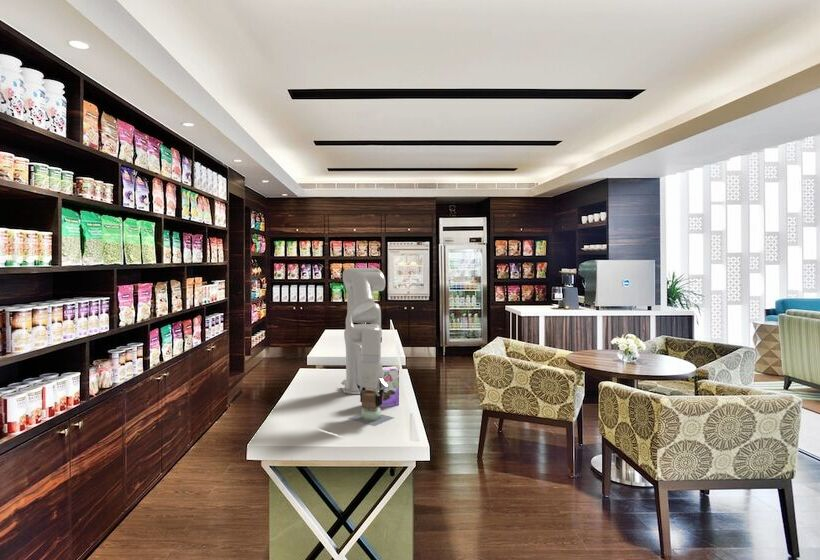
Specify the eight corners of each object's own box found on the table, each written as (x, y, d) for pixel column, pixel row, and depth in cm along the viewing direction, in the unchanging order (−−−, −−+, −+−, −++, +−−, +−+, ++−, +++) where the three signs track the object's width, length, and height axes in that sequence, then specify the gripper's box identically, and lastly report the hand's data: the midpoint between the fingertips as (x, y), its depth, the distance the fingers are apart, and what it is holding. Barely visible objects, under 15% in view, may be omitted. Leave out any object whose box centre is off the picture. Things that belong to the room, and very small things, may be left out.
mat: (347, 419, 182) (347, 418, 182) (368, 412, 192) (368, 410, 192) (374, 427, 174) (374, 426, 174) (394, 419, 184) (394, 417, 184)
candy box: (367, 409, 196) (367, 370, 195) (365, 405, 202) (365, 367, 201) (399, 406, 200) (399, 368, 199) (396, 402, 205) (396, 365, 205)
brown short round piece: (357, 406, 182) (357, 391, 182) (370, 401, 188) (370, 387, 188) (371, 410, 178) (371, 394, 177) (384, 405, 184) (384, 390, 183)
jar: (357, 418, 182) (357, 400, 182) (370, 413, 188) (370, 396, 188) (371, 422, 178) (371, 404, 177) (384, 417, 184) (384, 399, 183)
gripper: (348, 357, 184) (348, 401, 185) (381, 363, 174) (381, 410, 175) (361, 354, 190) (361, 397, 191) (394, 359, 180) (394, 405, 181)
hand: (371, 403), depth 183 cm, fingers closed on brown short round piece, 7 cm apart
